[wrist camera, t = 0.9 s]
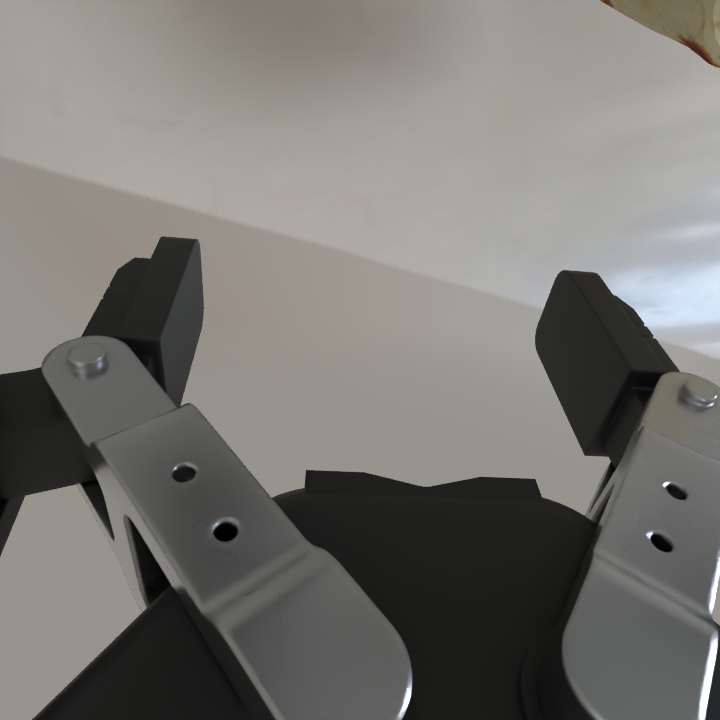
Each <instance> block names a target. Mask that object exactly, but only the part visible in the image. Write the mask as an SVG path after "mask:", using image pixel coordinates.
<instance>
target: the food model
mask: <svg viewBox="0 0 720 720" xmlns="http://www.w3.org/2000/svg"><path fill="white" fill-rule="evenodd" d="M600 1H602V2H603V3H605V4H607V5H609V6H610V7H612V8H614V9H615V10H617V11H619V12H621V13H622V14H624V15H626V16H628V17H629V18H631V19H633V20H635V21H636V22H638V23H640V24H642V25H644V26H645V27H647V28H649V29H651V30H653V31H655V32H658V33H660V34H662V35H664V36H667V37H669V38H671V39H673V40H675V41H677V42H679V43H681V44H683V45H685V46H687V47H689V48H690V49H691V50H693V51H694V52H695V53H696V54H698V55H699V56H700V57H702V58H703V59H704V60H705V61H706V62H707V63H709V64H711V65H713V66H715V67H719V68H720V0H600Z"/></svg>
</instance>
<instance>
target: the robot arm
mask: <svg viewBox="0 0 720 720" xmlns="http://www.w3.org/2000/svg"><path fill="white" fill-rule="evenodd" d="M203 306H204V303H203V285H202V270H201V253H200V244H199V241H198V240H197V239H187V238H175V237H161V238H160V240H159V242H158V244H157V246H156V249H155V251H154V253H153V255H152V257H151V259H147V258H134V259H132V260H131V261H129V262H128V263H126V264H125V265H124V266H122V267H121V268H119V269H118V270H117V272H116V274H115V275H114V277H113V279H112V281H111V283H110V287H108V289H107V290H106V292H105V294H104V296H103V299H101V301H100V303H99V305H98V307H97V309H96V311H95V313H94V314H93V316H92V318H91V320H90V321H89V323H88V325H87V327H86V329H85V331H84V333H83V334H82V336H81V337H80V338H76V339H72V340H69V341H66V342H64V343H62V344H60V345H58V346H57V347H55V348H54V349H52V350H51V351H50V352H49V353H48V354H47V356H46V357H45V358H44V360H43V362H42V367H40V368H37V369H33V370H28V371H21V372H15V373H8V374H1V375H0V556H1V553H2V551H3V548H4V546H5V543H6V541H7V539H8V536H9V534H10V531H11V529H12V526H13V524H14V522H15V519H16V517H17V514H18V512H19V509H20V507H21V504H22V502H23V500H24V497H25V495H30V494H34V493H39V492H43V491H48V490H52V489H57V488H62V487H66V486H71V485H75V484H76V485H77V487H78V489H79V491H80V492H81V494H82V496H83V498H84V499H85V501H86V503H87V505H88V506H89V508H90V510H91V512H92V514H93V515H94V517H95V519H96V521H97V523H98V524H99V526H100V528H101V530H102V532H103V533H104V535H105V537H106V539H107V541H108V542H109V544H110V546H111V548H112V549H113V551H114V553H115V555H116V557H117V559H118V561H119V563H120V566H121V568H122V571H123V573H124V576H125V578H126V580H127V583H128V585H129V588H130V590H131V592H132V594H133V596H134V598H135V600H136V602H137V604H138V606H139V608H140V609H141V611H142V613H141V614H140V615H139V616H138V618H136V619H135V620H134V621H133V622H132V623H131V624H130V625H129V626H128V627H127V628H126V629H125V630H124V631H123V632H122V633H121V634H120V635H119V636H118V637H117V638H116V639H115V640H114V641H113V642H112V643H111V644H110V645H109V646H108V647H107V648H106V649H104V650H103V652H101V653H100V654H99V655H98V656H97V657H96V658H95V659H94V660H93V661H92V662H91V663H90V664H89V665H88V666H87V667H86V668H85V669H84V670H83V671H82V672H81V673H80V674H79V675H78V676H77V677H76V678H75V679H74V680H73V681H72V682H70V683H69V684H68V685H67V686H66V687H65V688H64V689H63V690H62V691H61V692H60V693H59V694H58V695H57V696H56V697H55V698H54V699H53V700H52V701H51V702H50V703H49V704H48V705H47V706H46V707H45V708H44V709H43V710H42V711H41V712H40V713H38V714H37V716H35V718H33V719H32V720H720V626H719V625H718V624H717V623H716V622H715V621H713V619H712V610H713V605H714V599H715V594H716V589H717V584H718V578H719V573H720V387H718V386H717V385H715V384H714V383H712V382H710V381H708V380H706V379H704V378H702V377H699V376H696V375H693V374H690V373H684V372H680V371H679V370H678V368H677V367H676V366H675V364H674V363H673V362H672V360H671V359H670V358H669V356H668V355H667V354H666V352H665V351H664V349H663V348H662V347H661V345H660V344H659V343H658V341H657V340H656V339H655V338H653V335H652V333H651V332H650V330H649V329H648V328H647V327H646V326H644V322H643V321H642V320H641V318H640V317H639V316H638V314H637V313H636V312H635V310H634V309H633V308H632V307H630V306H629V305H628V304H626V303H625V302H623V301H622V300H621V299H619V298H618V297H617V296H613V294H612V293H611V291H610V290H609V289H608V287H607V286H606V284H605V283H604V282H603V280H602V279H601V277H600V276H599V275H598V274H597V273H593V272H581V271H569V270H563V271H561V272H560V273H559V274H558V275H557V277H556V279H555V281H554V284H553V286H552V289H551V292H550V294H549V297H548V299H547V302H546V305H545V307H544V310H543V312H542V315H541V318H540V320H539V323H538V326H537V329H536V335H535V345H536V350H537V353H538V355H539V357H540V360H541V362H542V364H543V366H544V368H545V370H546V373H547V375H548V377H549V379H550V381H551V384H552V386H553V388H554V390H555V392H556V394H557V397H558V399H559V401H560V403H561V405H562V407H563V410H564V412H565V414H566V416H567V418H568V420H569V422H570V425H571V427H572V429H573V431H574V433H575V436H576V437H577V440H578V442H579V444H580V446H581V448H582V450H583V453H584V455H585V456H606V457H609V458H610V460H611V462H610V464H609V465H608V467H607V469H606V470H605V472H604V474H603V476H602V478H601V481H600V483H599V485H598V488H597V490H596V492H595V494H594V496H593V499H592V501H591V503H590V505H589V508H588V510H587V512H586V514H585V516H584V515H582V514H580V513H579V512H577V511H575V510H573V509H571V508H569V507H567V506H565V505H562V504H560V503H557V502H554V501H552V500H549V499H545V498H542V496H541V494H540V491H539V488H538V485H537V483H536V480H535V479H520V478H495V477H493V478H492V477H478V478H473V479H468V480H462V481H457V482H452V483H447V484H441V485H436V486H431V487H422V486H417V485H413V484H409V483H405V482H401V481H397V480H393V479H389V478H385V477H380V476H377V475H372V474H369V473H365V472H364V473H363V472H339V471H314V470H306V478H305V488H302V489H297V490H293V491H289V492H286V493H283V494H280V495H277V496H275V497H273V498H271V497H270V496H269V494H268V493H267V492H266V491H265V489H264V488H263V487H262V486H261V484H260V483H259V482H258V481H257V480H256V478H255V477H254V476H253V475H252V474H251V472H250V471H249V470H248V469H247V468H246V466H245V465H244V464H243V463H242V461H241V460H240V459H239V458H238V457H237V455H236V454H235V453H234V452H233V451H232V449H231V448H230V447H229V446H228V445H227V443H226V442H225V441H224V440H223V438H222V437H221V436H220V435H219V434H218V432H217V431H216V430H215V429H214V428H213V426H212V425H211V424H210V423H209V422H208V420H207V419H206V418H205V417H204V416H203V414H202V413H201V412H200V411H199V410H198V409H197V408H196V407H195V406H194V405H193V404H190V403H187V404H184V405H182V406H180V404H181V401H182V397H183V394H184V390H185V387H186V382H187V379H188V376H189V372H190V369H191V365H192V361H193V358H194V354H195V351H196V347H197V343H198V340H199V336H200V332H201V329H202V322H203V310H204V307H203Z"/></svg>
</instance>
